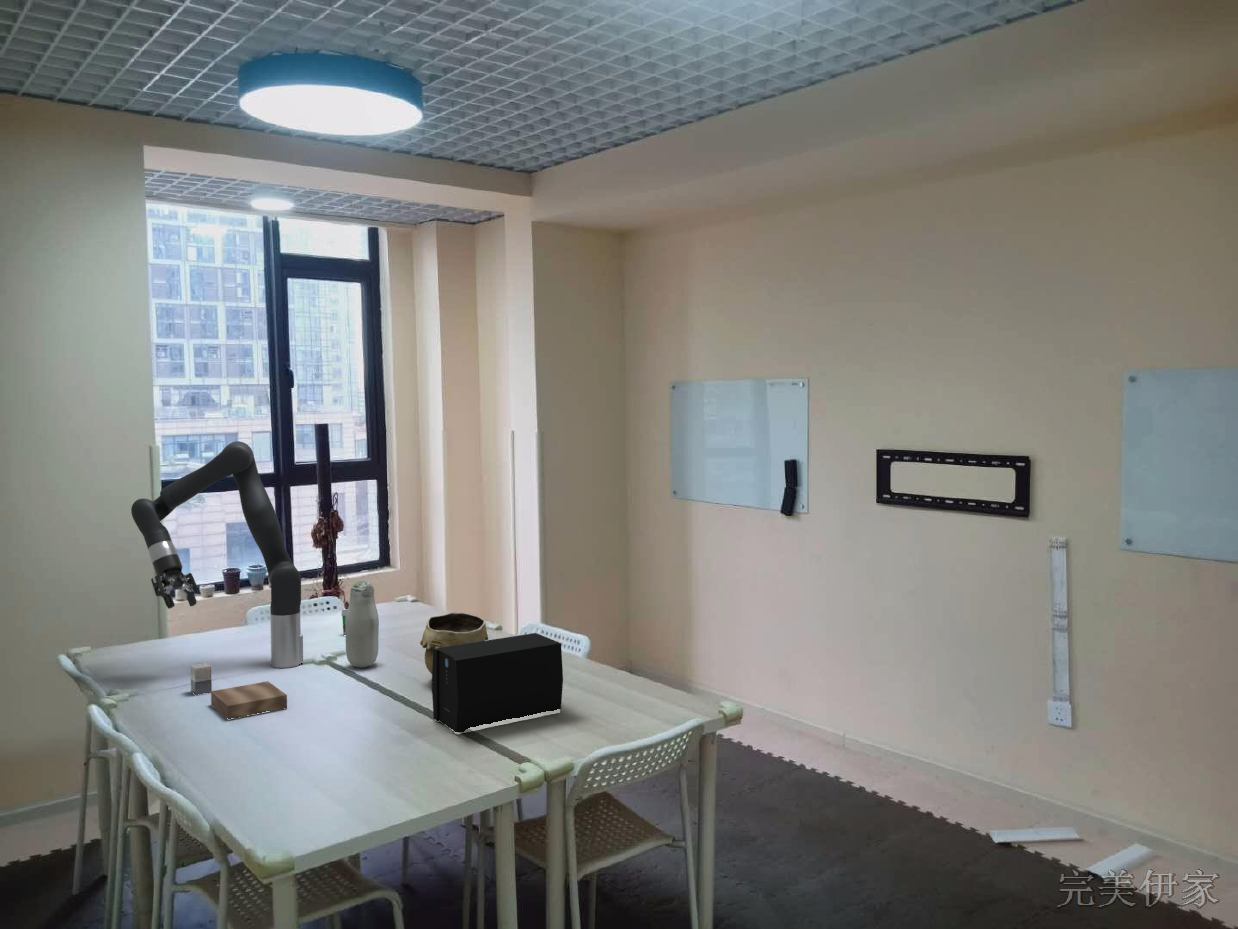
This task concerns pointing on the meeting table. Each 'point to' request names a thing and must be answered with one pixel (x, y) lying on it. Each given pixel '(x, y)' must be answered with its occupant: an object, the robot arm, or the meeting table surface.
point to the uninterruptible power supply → (496, 680)
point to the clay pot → (451, 633)
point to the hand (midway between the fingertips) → (182, 606)
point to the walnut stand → (248, 700)
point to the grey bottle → (362, 626)
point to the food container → (344, 620)
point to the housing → (201, 678)
